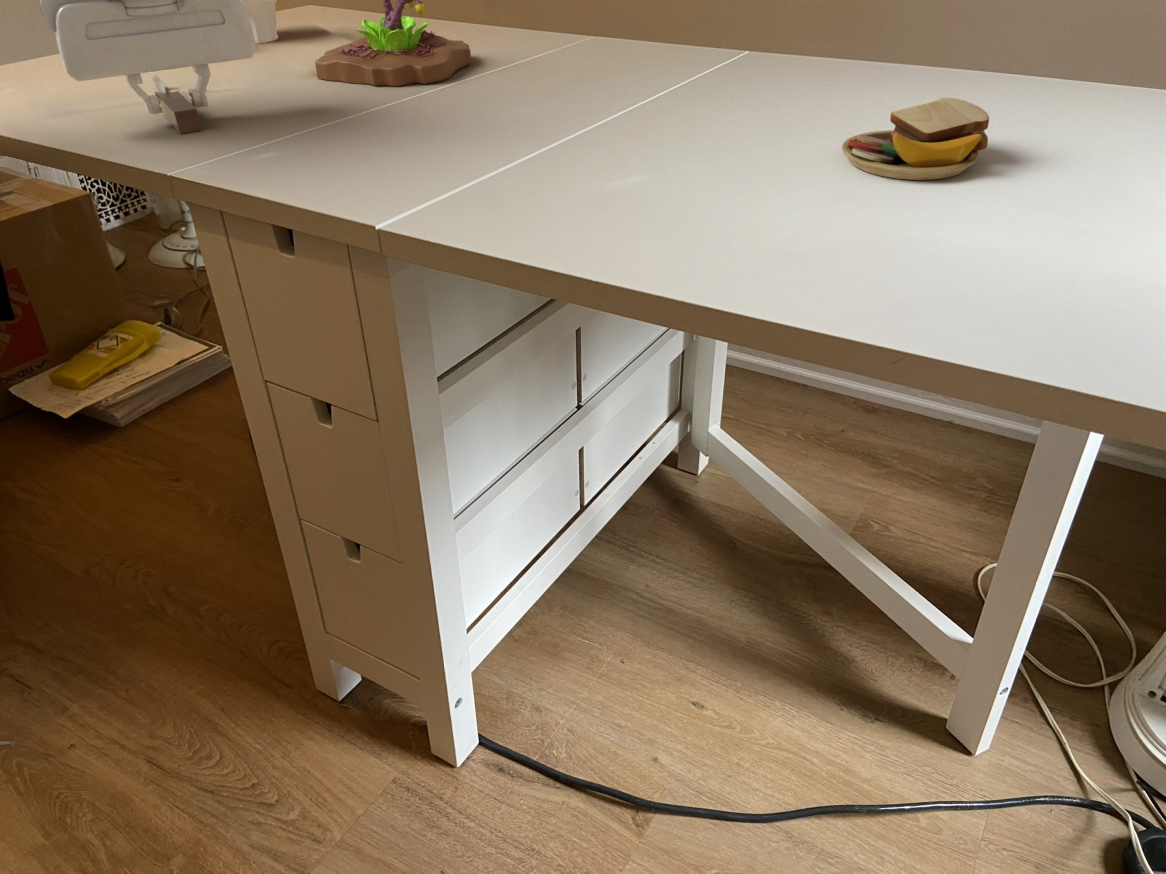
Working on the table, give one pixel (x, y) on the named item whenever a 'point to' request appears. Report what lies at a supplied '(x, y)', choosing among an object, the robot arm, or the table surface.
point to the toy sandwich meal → (923, 142)
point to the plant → (394, 53)
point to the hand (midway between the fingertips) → (177, 109)
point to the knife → (176, 108)
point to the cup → (262, 19)
